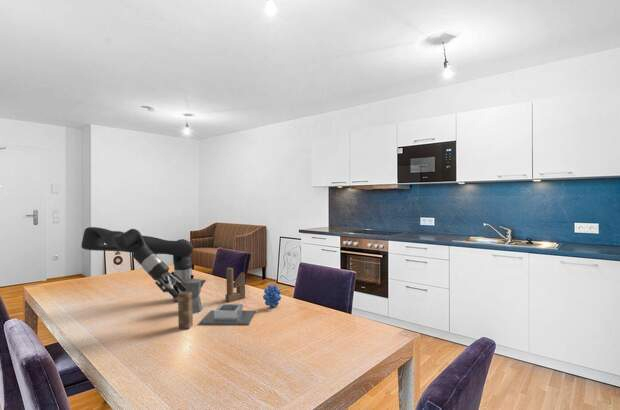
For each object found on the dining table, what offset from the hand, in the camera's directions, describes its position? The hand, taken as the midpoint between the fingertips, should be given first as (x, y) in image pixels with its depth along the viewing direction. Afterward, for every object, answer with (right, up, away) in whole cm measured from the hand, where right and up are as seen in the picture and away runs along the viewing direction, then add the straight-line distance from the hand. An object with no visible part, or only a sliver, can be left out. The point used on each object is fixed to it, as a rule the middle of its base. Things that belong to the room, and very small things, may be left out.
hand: (181, 293), depth 147 cm
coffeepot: (-4, -15, +22) cm, 27 cm away
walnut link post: (+2, -15, +1) cm, 15 cm away
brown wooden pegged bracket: (+15, -14, +41) cm, 46 cm away
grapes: (+37, -14, +26) cm, 48 cm away
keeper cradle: (+18, -15, +12) cm, 26 cm away
